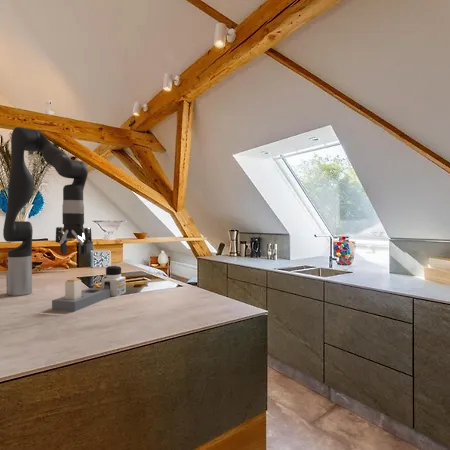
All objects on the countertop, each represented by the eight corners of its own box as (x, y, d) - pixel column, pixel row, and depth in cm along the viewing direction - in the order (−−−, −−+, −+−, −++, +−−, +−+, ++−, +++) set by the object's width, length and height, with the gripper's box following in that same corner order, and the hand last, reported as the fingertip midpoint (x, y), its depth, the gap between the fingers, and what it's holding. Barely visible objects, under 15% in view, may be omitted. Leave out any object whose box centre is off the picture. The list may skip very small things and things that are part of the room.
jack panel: (52, 311, 120) (52, 300, 120) (89, 296, 141) (89, 287, 141) (75, 312, 118) (75, 301, 118) (110, 298, 139) (109, 289, 139)
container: (117, 297, 141) (116, 267, 141) (101, 296, 142) (100, 267, 142) (125, 293, 148) (125, 265, 148) (110, 292, 150) (110, 264, 150)
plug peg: (65, 307, 123) (65, 280, 122) (72, 304, 127) (72, 278, 126) (74, 308, 122) (74, 280, 122) (81, 305, 126) (81, 278, 125)
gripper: (50, 212, 121) (50, 254, 122) (83, 212, 118) (83, 256, 119) (64, 212, 129) (64, 252, 129) (95, 212, 125) (95, 253, 126)
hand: (73, 254), depth 124 cm, fingers open, 8 cm apart
